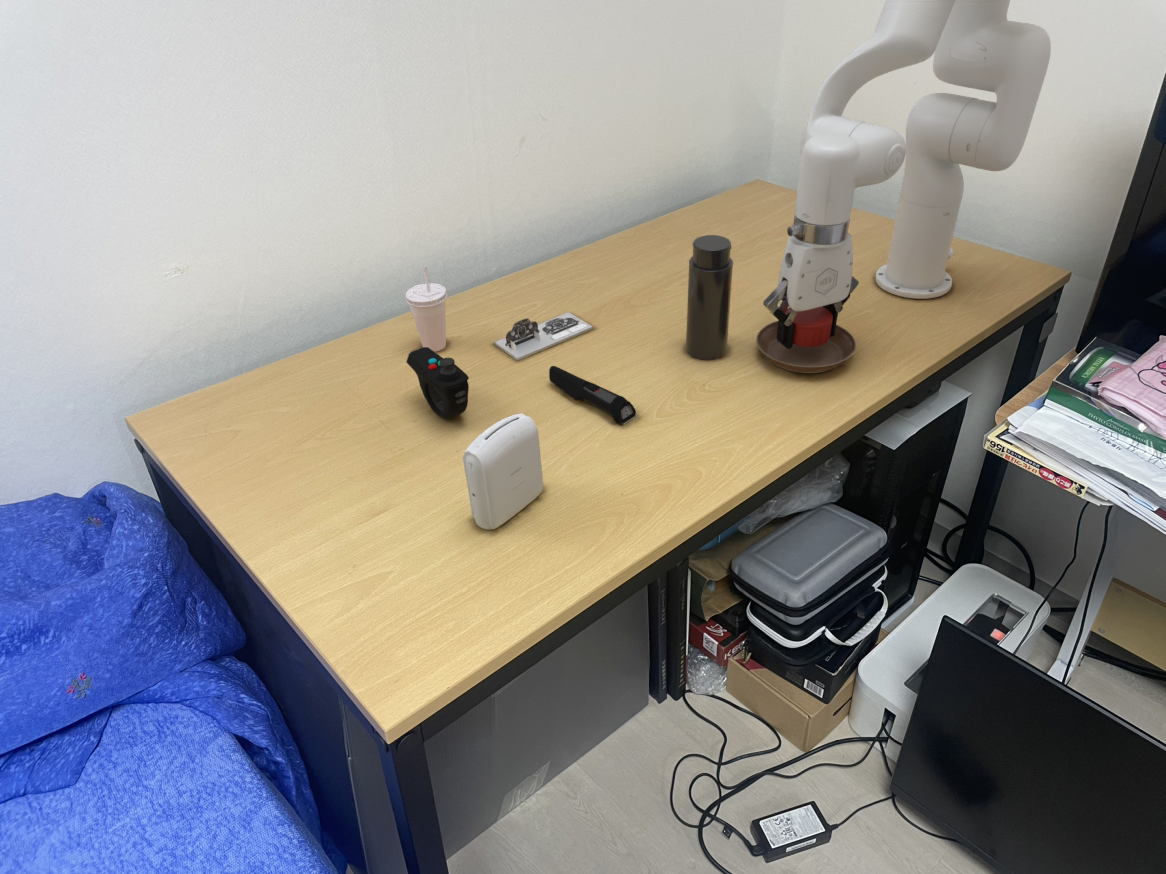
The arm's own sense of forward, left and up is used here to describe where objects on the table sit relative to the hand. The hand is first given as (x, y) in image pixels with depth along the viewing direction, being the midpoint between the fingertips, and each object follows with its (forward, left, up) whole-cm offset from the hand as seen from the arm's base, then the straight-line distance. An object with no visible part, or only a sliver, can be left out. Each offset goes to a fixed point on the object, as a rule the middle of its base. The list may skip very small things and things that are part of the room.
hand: (805, 337), depth 132 cm
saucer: (0, 0, -3) cm, 3 cm away
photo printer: (+54, -6, -3) cm, 55 cm away
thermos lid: (0, 0, 0) cm, 0 cm away
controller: (+47, -29, -3) cm, 55 cm away
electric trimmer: (+31, -15, -3) cm, 35 cm away
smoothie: (+37, -45, -3) cm, 59 cm away
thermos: (+8, -12, -3) cm, 15 cm away
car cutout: (+23, -34, -3) cm, 41 cm away
